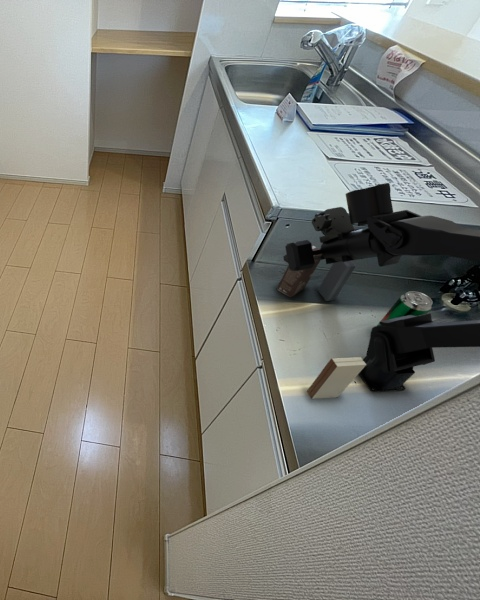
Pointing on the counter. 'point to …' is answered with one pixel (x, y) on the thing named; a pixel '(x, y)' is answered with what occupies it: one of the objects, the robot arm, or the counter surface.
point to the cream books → (335, 377)
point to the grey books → (335, 279)
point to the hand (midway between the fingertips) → (301, 254)
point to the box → (296, 279)
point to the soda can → (409, 306)
